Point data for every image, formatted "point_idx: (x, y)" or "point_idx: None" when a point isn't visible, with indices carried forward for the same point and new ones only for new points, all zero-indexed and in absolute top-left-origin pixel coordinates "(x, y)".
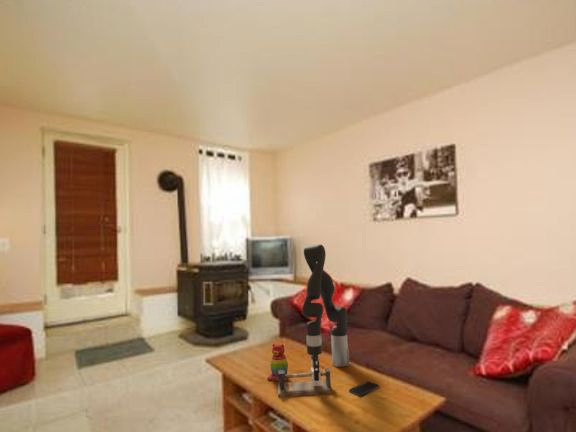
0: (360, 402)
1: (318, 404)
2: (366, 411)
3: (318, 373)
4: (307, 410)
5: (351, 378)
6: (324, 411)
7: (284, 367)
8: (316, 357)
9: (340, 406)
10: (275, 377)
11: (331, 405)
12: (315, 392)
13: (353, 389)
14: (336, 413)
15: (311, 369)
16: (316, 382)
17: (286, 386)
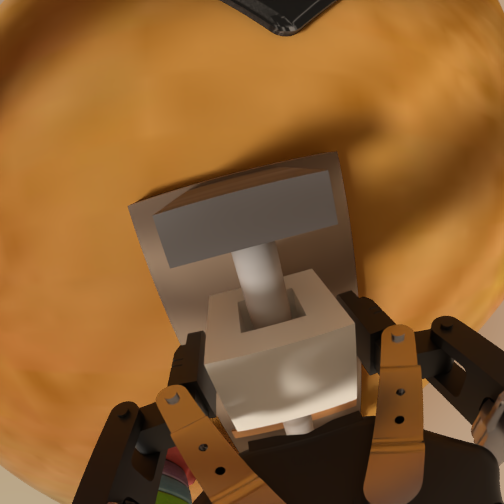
0: (406, 12)
1: (447, 238)
2: (464, 24)
3: (384, 326)
4: (476, 280)
5: (57, 52)
6: (489, 204)
7: (166, 494)
8: (493, 493)
9: (460, 120)
10: (187, 473)
11: (456, 167)
12: (354, 278)
13: (265, 5)
14: (498, 151)
15: (295, 418)
16: (198, 299)
17: (282, 433)
